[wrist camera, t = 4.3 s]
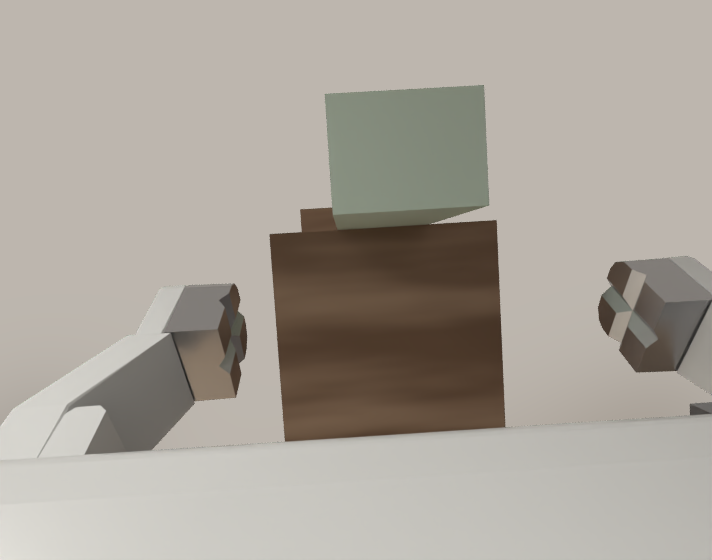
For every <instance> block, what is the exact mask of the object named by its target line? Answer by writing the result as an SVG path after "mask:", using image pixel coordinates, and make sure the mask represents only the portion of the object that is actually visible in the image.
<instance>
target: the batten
mask: <svg viewBox="0 0 712 560" xmlns="http://www.w3.org/2000/svg"><path fill="white" fill-rule="evenodd" d="M325 103H326V119H327V133H328V149H329V165H330V178H331V179H330V180H331V195H332V211H333V217H334V220H335V224H336V227H337V230H347V229H363V228H379V227H395V226H412V225H428V224H431V223H435V222H438V221H441V220H444V219H447V218H451V217H454V216H457V215H460V214H463V213H466V212H470V211H473V210H476V209H479V208H482V207H485V206H489V189H488V166H487V143H486V121H485V97H484V85H478V86H460V87H442V88H424V89H407V90H388V91H370V92H351V93H333V94H325Z"/></svg>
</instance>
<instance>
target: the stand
mask: <svg viewBox="0 0 712 560" xmlns="http://www.w3.org/2000/svg"><path fill="white" fill-rule="evenodd" d="M300 212H301V226H302V232H299V233H282V234H270V247H271V260H272V272H273V273H272V274H273V287H274V299H275V313H276V327H277V341H278V354H279V366H280V367H279V368H280V381H281V394H282V406H283V421H284V433H285V442H289V441H304V440H319V439H335V438H350V437H366V436H381V435H397V434H412V433H427V432H442V431H457V430H472V429H487V428H502V427H505V411H504V410H505V408H504V384H503V361H502V337H501V317H500V316H501V314H500V290H499V267H498V243H497V221H496V220H493V221H478V222H460V223H444V224H428V225H412V226H395V227H379V228H363V229H347V230H337V227H336V224H335V220H334V217H333V211H332V208H318V209H301V210H300Z"/></svg>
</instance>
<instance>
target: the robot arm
mask: <svg viewBox="0 0 712 560" xmlns="http://www.w3.org/2000/svg"><path fill="white" fill-rule="evenodd" d="M607 279H608V281H609V283H610V285H611V287H610V288H609V289H608V290H607V291H606V292H605V293H604V294H602V296H601V300H600V303H599V306H598V311H599V321H600V323H601V326H602V328H603V330H604V331H605V332H606V334H607V335H608V336H609V337H611V338H613V339H614V340H616V341H618V342H620V343H621V345H620V349H619V351H620V352H621V353H622V355H623V356H624V357H625V359H626V360H627V361H628V363H629V364H630V365H631V366H632V368H633V369H634V370H635V371H636V372H660V371H661V372H662V371H677V373H678V374H680V375H681V376H683V377H684V378H686V379H687V380H689V381H690V382H692V383H694V384H695V385H697V386H698V387H700V388H701V389H703V390H704V391H706V392H708V393H709V394H711V395H712V272H711V271H710V270H709V269H708V268H706V267H705V266H704V265H702V264H701V263H700V262H699V261H697V260H696V259H694V258H692V257H688V256H680V257H671V258H670V257H669V258H662V259H649V260H638V261H637V260H636V261H624V262H615V263H614V265H613V266H612V267H611V269H610V271H609V274H608V277H607ZM239 303H240V296H239V293H238V289H237V287H236V285H235V284H210V285H189V286H185V285H182V286H168V287H163V288H161V289H160V290H159V291H158V293H157V295H156V297H155V299H154V301H153V302H152V304H151V306H150V308H149V310H148V312H147V313H146V315H145V318H144V319H143V321H142V323H141V325H140V327H139V328H138V330H137V332H136V334H135V335H128V336H126V337H124V338H123V339H121V340H120V341H118V342H117V343H115V344H114V345H112V346H110V347H109V348H107V349H106V350H104V351H103V352H101V353H99V354H98V355H96V356H95V357H93V358H92V359H90V360H89V361H87V362H85V363H84V364H82V365H81V366H79V367H78V368H76V369H75V370H73V371H72V372H70V373H68V374H67V375H65V376H64V377H62V378H61V379H59V380H57V381H56V382H54V383H53V384H51V385H50V386H48V387H47V388H45V389H43V390H42V391H40V392H39V393H37V394H36V395H34V396H33V397H31V398H29V399H28V400H26V401H25V402H23V403H22V404H20V405H19V406H17V407H16V408H14V409H13V410H12V411H11V413H10V414H9V415H8V417H7V418H6V420H5V421H4V422H3V424H2V425H1V426H0V560H712V414H704V415H690V416H675V417H659V418H642V419H626V420H610V421H595V422H578V423H563V424H548V425H533V426H518V427H502V428H487V429H472V430H457V431H442V432H427V433H412V434H397V435H381V436H366V437H350V438H335V439H319V440H304V441H289V442H273V443H258V444H242V445H227V446H212V447H197V448H180V449H165V450H152V449H153V448H154V447H155V446H156V445H157V444H158V443H159V441H160V440H161V439H162V438H163V437H164V436H165V435H166V434H167V433H168V431H170V429H171V428H172V427H173V426H174V425H175V424H176V423H177V422H178V421H179V420H180V419H181V418H182V417H183V416H184V414H185V413H186V412H187V411H188V410H189V409H190V408H191V407H192V406H193V405H194V401H204V400H215V399H225V398H236V395H237V390H238V386H239V382H240V377H241V370H240V366H239V363H240V362H241V361H242V360H244V358H245V354H246V349H247V331H246V323H245V319H244V316H243V315H242V314H240V313H239V312H238V307H239Z"/></svg>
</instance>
